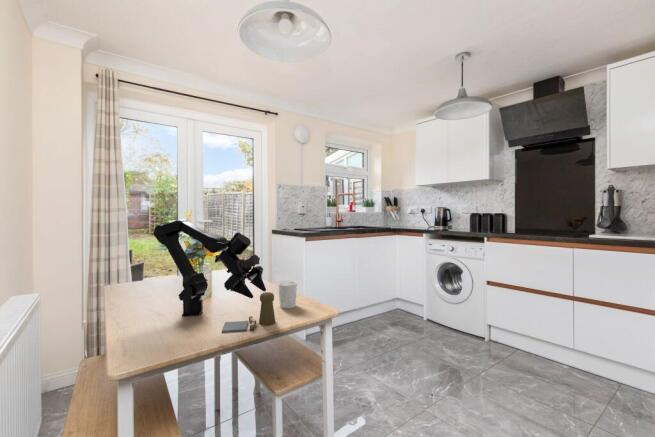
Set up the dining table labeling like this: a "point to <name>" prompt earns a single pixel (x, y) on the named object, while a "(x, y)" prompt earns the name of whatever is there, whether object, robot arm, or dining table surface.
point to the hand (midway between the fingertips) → (259, 294)
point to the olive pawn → (267, 309)
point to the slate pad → (235, 326)
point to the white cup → (287, 294)
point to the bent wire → (252, 323)
